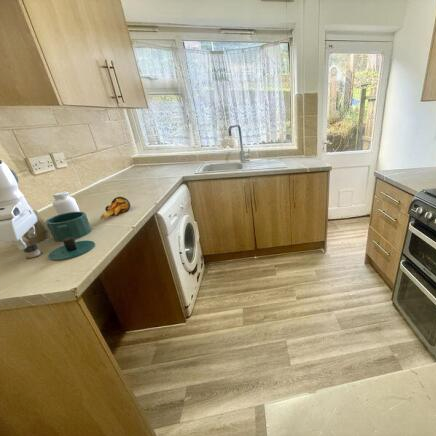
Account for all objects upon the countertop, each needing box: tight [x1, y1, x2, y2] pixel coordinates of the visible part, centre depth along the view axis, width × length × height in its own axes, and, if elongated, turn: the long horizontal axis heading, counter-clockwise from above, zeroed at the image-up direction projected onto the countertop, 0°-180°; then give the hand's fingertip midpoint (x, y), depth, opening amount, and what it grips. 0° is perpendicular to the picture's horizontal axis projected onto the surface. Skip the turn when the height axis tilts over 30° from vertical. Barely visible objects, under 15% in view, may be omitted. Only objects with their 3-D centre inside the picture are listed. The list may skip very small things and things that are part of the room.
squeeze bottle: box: [22, 205, 50, 243], centre depth 99 cm, size 8×8×18 cm
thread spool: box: [22, 241, 43, 260], centre depth 89 cm, size 4×4×5 cm
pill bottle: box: [52, 191, 81, 215], centre depth 114 cm, size 8×8×15 cm
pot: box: [45, 211, 92, 243], centre depth 104 cm, size 13×18×8 cm
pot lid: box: [47, 237, 96, 262], centre depth 91 cm, size 14×14×6 cm
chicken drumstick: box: [100, 196, 131, 220], centre depth 123 cm, size 9×11×18 cm
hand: (28, 242), depth 88 cm, fingers open, 8 cm apart
